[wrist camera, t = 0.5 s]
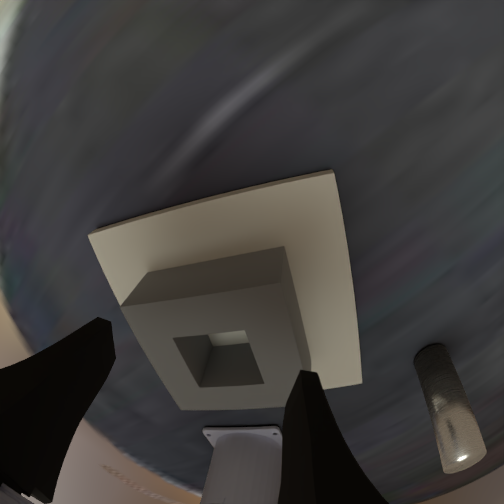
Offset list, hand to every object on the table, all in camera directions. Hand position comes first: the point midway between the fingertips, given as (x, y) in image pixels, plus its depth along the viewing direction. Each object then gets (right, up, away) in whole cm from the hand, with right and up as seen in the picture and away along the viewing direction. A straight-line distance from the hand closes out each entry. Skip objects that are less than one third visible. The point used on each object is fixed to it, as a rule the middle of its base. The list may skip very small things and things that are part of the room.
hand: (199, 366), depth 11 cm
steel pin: (+16, -4, +11) cm, 20 cm away
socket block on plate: (+1, 0, +11) cm, 11 cm away
